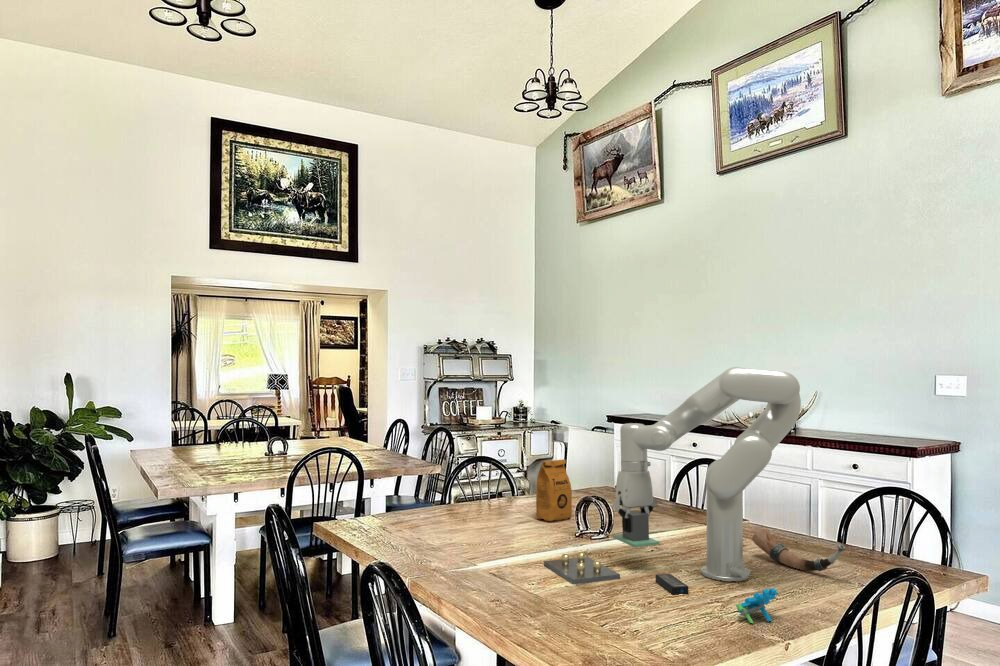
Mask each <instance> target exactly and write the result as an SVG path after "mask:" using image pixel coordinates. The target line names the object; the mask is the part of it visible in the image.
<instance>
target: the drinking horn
mask: <svg viewBox="0 0 1000 666" xmlns="http://www.w3.org/2000/svg"><path fill="white" fill-rule="evenodd" d="M751 541H752V542H753V543H754V544H755V545H756V546H757V547H758V548H759V549H760V550H762V551H763V552H764V553H765V554H767V555H768V556H769V558H771V559H772V560H774V561H775V562H777V563H779V564H783V565H785V566H788V567H789V566H790V568H792V567H793V568H792V569H795V568H796V569H795V570H799V569H800V571H807V572H814V571H816V572H817V571H819V572H823V571H824V570H827V569H828V567H830V566H831V565H834V563H835V562H836V561H837V559H838V558H839V557H840V555H841V554H842V552H843V551H845V550H846V547H845V546H844V545H843V544H840V543H839V544H838V545H837V548H838V549H837V550H836V551H835V552H834V553H833V554H832V555H830V556H826V558H821V557H819V556H818V557H817V559H815V560H809V559H805V558H802V557H800V556H798V555H796V554H794V553H792V552H791V551H789V549H788V548H787V547H786V546H785V544H783V543H779V541H778V540H777V539H776V538H775V537H774V536H773V535H772V533H771V532H770V531H769V530H768V528H762V529H760V530H758V531H756V532H755V533H754V535H753V536H752V538H751Z"/></svg>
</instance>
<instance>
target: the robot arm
mask: <svg viewBox="0 0 1000 666" xmlns="http://www.w3.org/2000/svg"><path fill="white" fill-rule="evenodd" d="M800 386H801V385H800V382H799V380H798V378H797V377H795V376H794V375H793V374H792V373H789V372H786V371H780V370H779V371H776V370H767V369H754V368H746V367H740V366H733V367H729V368H728V369H726V370H725V371H723V372H722V373H720V374H719V375H718V376H716V377H715V378H713V379H712V380H711V381H709V382H708V383H707V384H705V385H704V386H702V387H701V388H700V389H698V390H697V391H696V392H694V393H692V395H690V396H688V398H686V399H685V401H684V402H682V404H680V405H679V406H677V407H676V408H675V409H674V410H673V411H671V412H670V413H668V414H667V415H666V416H664V417H662V418H661V419H660V420H658V421H657V422H655V423H654V424H651V425H648V424H647V425H645V424H644V423H637V422H635V423H633V422H629V423H623V424H621V426H620V430H619V431H620V434H619V435H620V470H619V471H618V472H617V477H616V484H615V485H616V486H615V500H614V501H613V503H612V505H611V508H612V509H613V510H614V511H616V512H617V513H618V514H619V516H620V517H621V523H622V524H621V527H622V532H623V531H625V532H628V533H630V532H631V523H630V518H629V514H630V511H631V508H632V509H633V508H639V511H641V512H644V513H647V514H648V517H650V515H651V513H652V511H653V510H654V508H656V506H657V505H658V504H659V503H658V501H657V500H656V499H657V498H655V497H654V495H653V485H652V484H653V483H652V477H651V473H650V471H649V469H648V468H649V467H651V462H650V461H648V450H649V451H650V450H651V451H657V452H658V451H659V452H662V451H666V450H668V449H669V448H671V446H672V445H673V444H674V443H675V442H677V441H678V440H680V438H682V437H683V436H685V435H687V434H688V433H689V432H691V431H692V430H693V429H695V428H697V427H699V426H701V425H703V424H706V423H708V422H710V421H711V420H713V419H714V418H715V417H717V416H718V415H720V414H721V413H722V412H724V411H725V410H727V409H728V408H730V407H731V406H733V405H734V404H735V403H737V402H738V401H739V400H742V401H750V402H760V403H766V405H765V408H764V409H763V411H761V413H760V414H759V415H758V416H757V417H756V419H755V420H754V421H753V422H752V423H751V424H750V425H749V426H748V427H747V428H746V429H745V430H744V431H743V432H742V433H741V434H739V435H738V436H737V437H736V438H735V439H734V440H735V441H734V443H733V445H731V447H730V448H729V449H728V450H727V451H726V452H725V453H724V454H723V455H722V456H721V458H719V459H716V460H714V461H713V462H711V463H710V464H709V466H708V467H707V470H706V473H705V484H706V485H705V486H706V564H705V565H703V566H701V568H700V574H701V575H702V576H703V577H706V578H708V579H711V578H712V580H715V579H716V581H720V580H722V581H721V582H731V581H736V582H743V580H744V581H747V580H748V579H749V578H750V575H751V574H752V571H751V569H748V568H746V562H745V561H744V543H743V541H744V536H743V535H744V534H743V533H744V531H743V530H744V525H743V524H744V522H743V521H744V512H743V511H744V505H743V503H744V502H743V501H744V497H743V496H744V492H743V491H744V490H745V489H746V488H747V487H748V486H749V485H750V484H751V483H752V482H753V481H754V480H755V479H756V478H757V477H758V476H759V474H760V473H762V472H763V470H765V468H766V467H767V466H768V464H769V462H770V461H771V459H772V455H773V453H772V452H773V451H774V450H775V448H776V447H777V446H779V444H780V442H782V440H783V439H784V438H785V437H786V436H788V434H789V433H790V432H791V430H792V429H793V428H794V426H795V425H796V423H797V421H798V420H799V419H798V418H799V417H800V413H801V406H802V402H801V399H802V398H801V394H800V391H801V387H800ZM620 506H621V507H620Z"/></svg>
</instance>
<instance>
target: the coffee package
mask: <svg viewBox="0 0 1000 666" xmlns="http://www.w3.org/2000/svg"><path fill="white" fill-rule="evenodd" d="M566 463H567V461H566V459H565V458H564V459H556V460H543V461H542V462H541V464H540V468H539V470H538V474H537V477H536V492H535V495H536V496H535V497H536V499H535V502H536V503H535V505H536V507H535V509H536V510H535V512H536V519H537V518H538V519H537V520H541V519H544V520H543V521H546V522H554V521H553V520H557V521H563V520H562V519H565V520H569V519H568V518H570V519H571V518H572V517H573V508H572V507H573V506H572V505H573V502H572V500H573V499H572V496H573V495H572V493H573V489H572V485H571V481H570V478H569V476H568V474H567V469H566V466H565V464H566Z"/></svg>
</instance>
